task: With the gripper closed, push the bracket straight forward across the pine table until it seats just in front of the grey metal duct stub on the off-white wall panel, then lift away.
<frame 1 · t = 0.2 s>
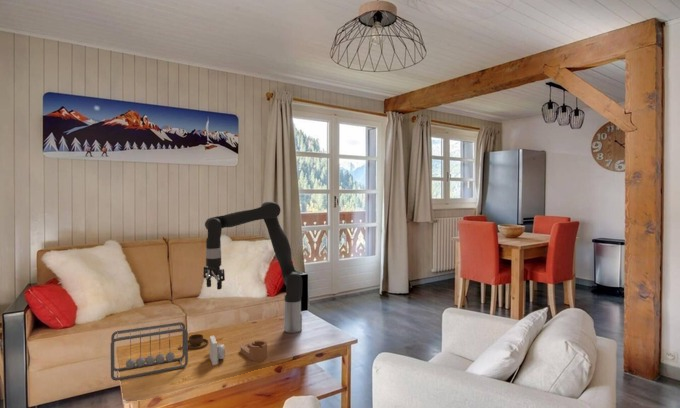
hand: (214, 288, 204), 29 cm above the table, fingers open, 8 cm apart
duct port: (213, 360, 185), on the table
newton's cradle: (150, 370, 175), on the table
place setting: (197, 349, 200), on the table
bracket: (253, 354, 193), on the table
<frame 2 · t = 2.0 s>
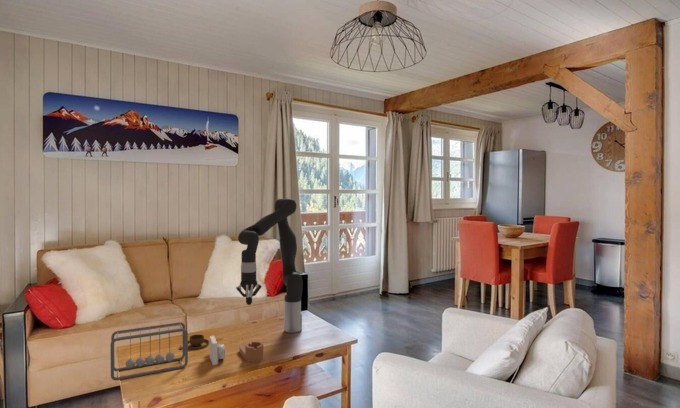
hand: (248, 304, 200), 22 cm above the table, fingers closed
bracket: (251, 355, 192), on the table
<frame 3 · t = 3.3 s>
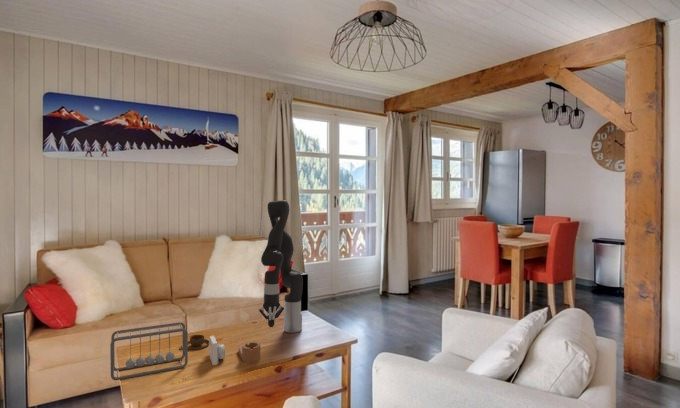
hand: (271, 326, 197), 12 cm above the table, fingers closed
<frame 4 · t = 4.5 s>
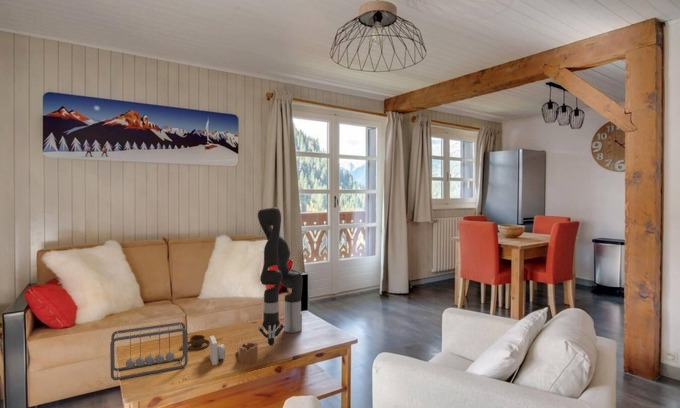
hand: (270, 344, 197), 3 cm above the table, fingers closed
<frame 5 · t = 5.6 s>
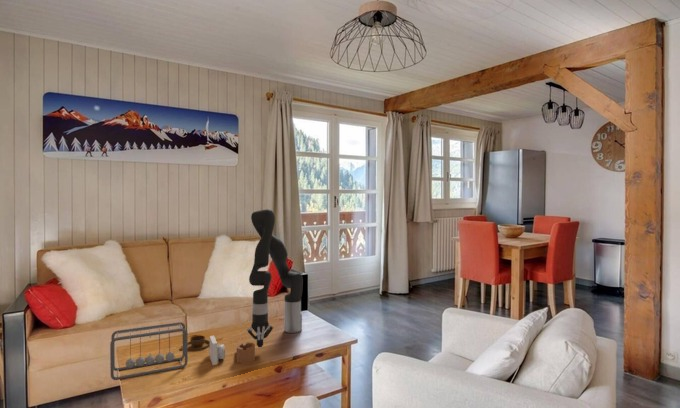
hand: (259, 346, 194), 3 cm above the table, fingers closed
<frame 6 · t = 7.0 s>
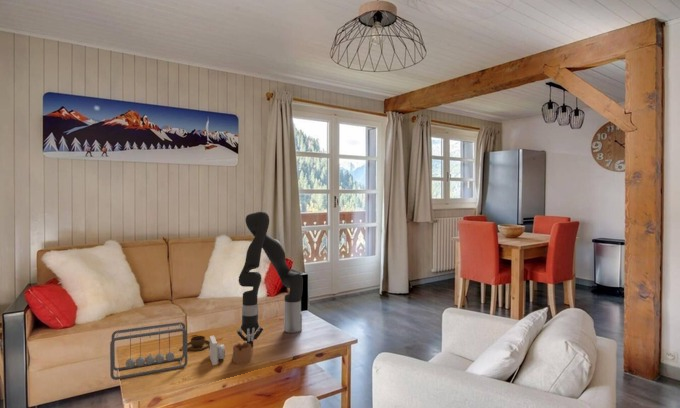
hand: (249, 348, 192), 3 cm above the table, fingers closed
bracket: (243, 356, 191), on the table
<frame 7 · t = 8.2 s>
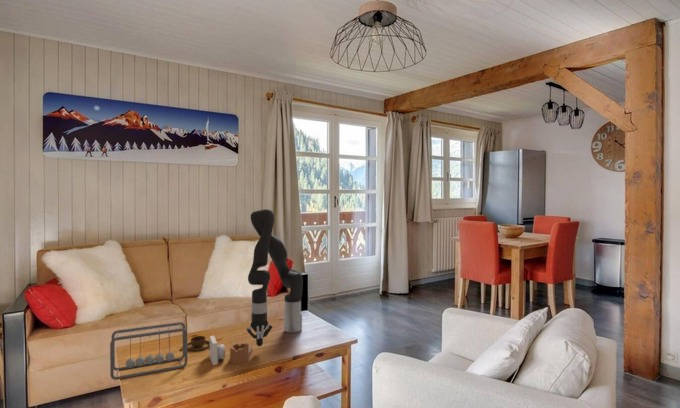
hand: (259, 345, 194), 4 cm above the table, fingers closed
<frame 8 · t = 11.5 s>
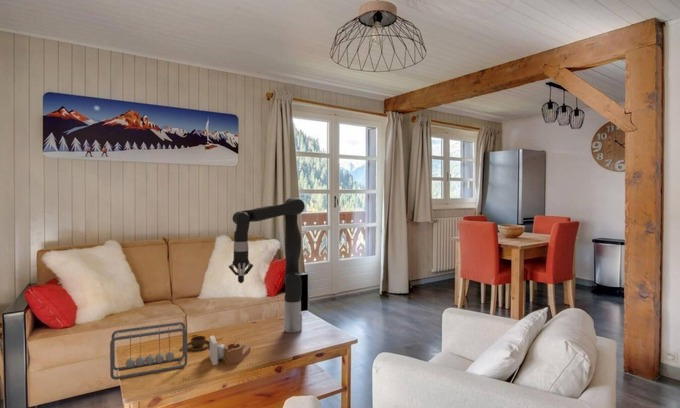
hand: (240, 282, 208), 31 cm above the table, fingers closed
bracket: (237, 356, 191), on the table
at the end: bracket inside the target area (3.0 cm from its centre), on the table; bracket moved 7.6 cm from its start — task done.
